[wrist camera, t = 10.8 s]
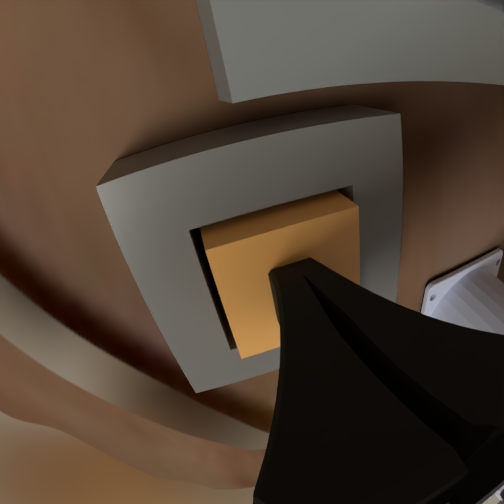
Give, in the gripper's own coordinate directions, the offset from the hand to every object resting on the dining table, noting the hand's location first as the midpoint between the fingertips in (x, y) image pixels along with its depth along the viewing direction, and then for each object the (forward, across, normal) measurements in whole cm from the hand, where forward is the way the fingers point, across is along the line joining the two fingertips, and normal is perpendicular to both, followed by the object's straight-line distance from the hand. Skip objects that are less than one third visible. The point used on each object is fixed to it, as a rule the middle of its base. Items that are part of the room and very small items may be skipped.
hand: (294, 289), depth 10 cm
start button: (+3, 0, 0) cm, 3 cm away
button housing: (+4, 0, 0) cm, 4 cm away
